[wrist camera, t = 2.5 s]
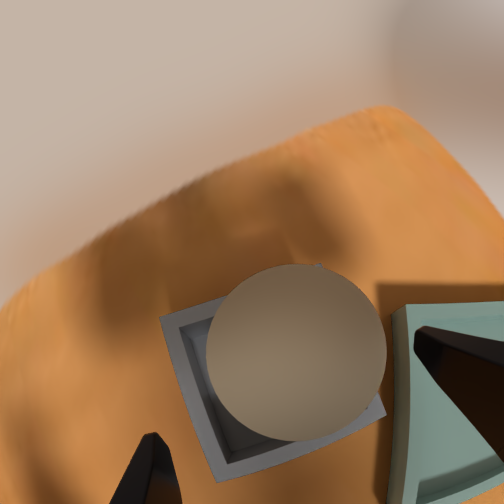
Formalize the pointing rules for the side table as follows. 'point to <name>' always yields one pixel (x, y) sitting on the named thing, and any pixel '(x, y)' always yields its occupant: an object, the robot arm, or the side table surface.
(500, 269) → the side table surface
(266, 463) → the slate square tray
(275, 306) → the rounded wooden peg
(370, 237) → the side table surface
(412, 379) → the green-grey tray
